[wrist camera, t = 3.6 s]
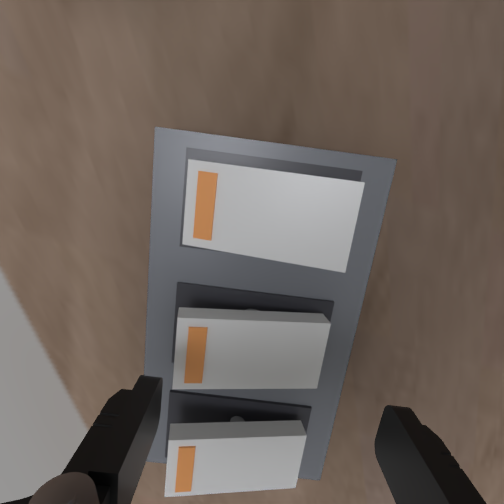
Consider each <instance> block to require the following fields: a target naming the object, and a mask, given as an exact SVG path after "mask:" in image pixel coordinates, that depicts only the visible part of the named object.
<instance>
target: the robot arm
mask: <svg viewBox="0 0 504 504" xmlns="http://www.w3.org/2000/svg"><path fill="white" fill-rule="evenodd" d="M162 387H163V378H162V377H153V376H145V375H141V376H140V377H139V379H138V380H137V382H136V384H135V386H134V388H133V390H126V389H121V390H120V391H118V392H117V393H116V394H115V395H113V396H112V397H111V398H110V399H108V401H107V402H106V404H105V406H104V407H103V409H102V410H101V412H100V415H98V417H97V418H96V420H95V422H94V423H93V426H91V428H90V430H89V431H88V433H87V434H86V436H85V438H84V439H83V441H82V442H81V444H80V446H79V447H78V449H77V450H76V452H75V453H74V455H73V457H72V458H71V460H70V462H69V463H68V465H67V466H66V468H65V469H64V471H63V472H62V474H61V475H59V476H57V477H55V478H53V479H51V480H49V481H48V482H46V483H45V484H44V485H42V486H41V487H40V488H39V489H38V490H37V492H36V493H35V494H34V495H32V496H30V497H27V498H23V499H20V500H15V501H11V502H6V503H1V504H131V501H132V498H133V495H134V493H135V490H136V487H137V484H138V482H139V479H140V476H141V473H142V471H143V468H144V465H145V462H146V460H147V457H148V454H149V452H150V449H151V446H152V443H153V441H154V438H155V435H156V432H157V429H158V425H159V420H160V413H161V400H162ZM375 454H376V458H377V460H378V463H379V465H380V467H381V470H382V472H383V474H384V477H385V479H386V481H387V484H388V486H389V488H390V490H391V493H392V495H393V497H394V500H395V502H396V504H486V502H485V501H484V500H483V498H482V497H481V495H480V494H479V492H478V491H477V490H476V488H475V487H474V485H473V484H472V483H471V481H470V480H469V478H468V477H467V475H466V474H465V473H464V471H463V470H462V469H460V467H459V464H458V463H457V461H456V460H455V458H454V457H453V456H451V453H450V451H449V450H448V449H447V447H446V446H445V444H444V443H443V441H442V440H441V439H440V438H439V437H438V436H437V435H436V434H435V433H434V432H433V431H432V430H430V429H429V428H428V427H427V426H426V425H422V424H421V423H420V421H419V420H418V418H417V417H416V415H415V414H414V412H413V411H412V410H411V409H410V408H408V407H400V406H391V405H387V406H386V407H385V408H384V411H383V414H382V418H381V421H380V424H379V428H378V431H377V435H376V438H375Z"/></svg>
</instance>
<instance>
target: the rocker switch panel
mask: <svg viewBox="0 0 504 504" xmlns="http://www.w3.org/2000/svg"><path fill="white" fill-rule="evenodd" d="M188 159H192V160H199V161H207V162H214V163H222V164H229V165H237V166H245V167H252V168H260V169H267V170H275V171H282V172H290V173H297V174H305V175H312V176H320V177H327V178H335V179H343V180H350V181H358V182H365V185H364V189H363V194H362V198H361V203H360V208H359V212H358V217H357V221H356V226H355V230H354V235H353V240H352V244H351V249H350V253H349V258H348V262H347V267H346V272H345V273H343V272H337V271H332V270H326V269H320V268H315V267H309V266H303V265H298V264H292V263H286V262H280V261H275V260H269V259H263V258H258V257H252V256H246V255H241V254H235V253H229V252H224V251H218V250H212V249H206V248H201V247H195V246H189V245H184V244H182V241H183V227H184V213H185V199H186V185H187V171H188ZM396 162H397V159H390V158H383V157H375V156H368V155H361V154H353V153H346V152H338V151H331V150H324V149H316V148H309V147H302V146H294V145H287V144H279V143H272V142H265V141H257V140H250V139H243V138H235V137H228V136H220V135H213V134H206V133H198V132H191V131H184V130H176V129H169V128H161V127H155V138H154V161H153V183H152V206H151V229H150V252H149V274H148V297H147V320H146V343H145V366H144V375H145V376H153V377H162V378H163V387H162V400H161V413H160V420H159V425H158V429H157V432H156V435H155V438H154V441H153V443H152V446H151V449H150V452H149V454H148V457H147V460H146V461H148V462H157V463H166V464H167V455H168V441H169V432H170V424H176V423H214V422H230V419H231V418H232V417H234V416H239V417H242V418H243V419H244V421H245V422H252V421H290V420H301V422H302V424H303V427H304V430H305V432H306V435H307V437H306V441H305V446H304V451H303V455H302V460H301V465H300V469H299V474H298V478H302V479H311V480H320V478H321V474H322V470H323V465H324V461H325V457H326V453H327V449H328V445H329V441H330V436H331V432H332V428H333V424H334V420H335V416H336V411H337V407H338V403H339V399H340V395H341V391H342V386H343V382H344V378H345V374H346V370H347V366H348V362H349V357H350V353H351V349H352V345H353V341H354V337H355V332H356V328H357V324H358V320H359V316H360V312H361V308H362V303H363V299H364V295H365V291H366V287H367V283H368V278H369V274H370V270H371V266H372V262H373V258H374V254H375V249H376V245H377V241H378V237H379V233H380V229H381V224H382V220H383V216H384V212H385V208H386V204H387V200H388V195H389V191H390V187H391V183H392V179H393V175H394V170H395V166H396ZM179 307H185V308H208V309H230V310H246V309H256V310H259V311H276V312H299V313H321V314H324V316H325V317H326V318H327V319H328V321H329V322H330V323H331V326H330V330H329V335H328V340H327V344H326V349H325V353H324V358H323V363H322V367H321V372H320V377H319V381H318V386H317V389H172V386H173V372H174V359H175V345H176V331H177V317H178V310H179Z"/></svg>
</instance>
